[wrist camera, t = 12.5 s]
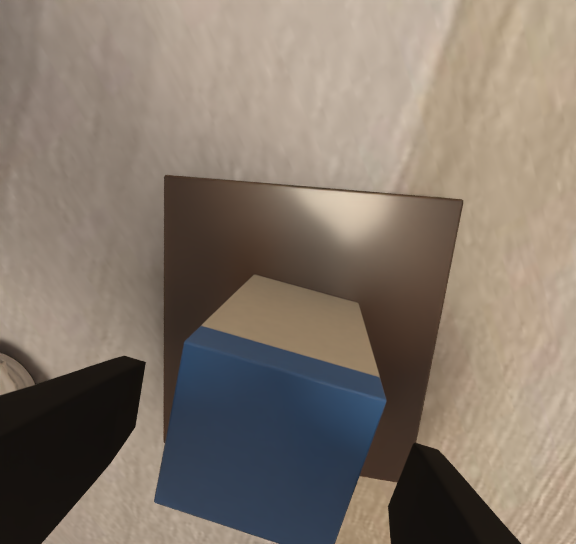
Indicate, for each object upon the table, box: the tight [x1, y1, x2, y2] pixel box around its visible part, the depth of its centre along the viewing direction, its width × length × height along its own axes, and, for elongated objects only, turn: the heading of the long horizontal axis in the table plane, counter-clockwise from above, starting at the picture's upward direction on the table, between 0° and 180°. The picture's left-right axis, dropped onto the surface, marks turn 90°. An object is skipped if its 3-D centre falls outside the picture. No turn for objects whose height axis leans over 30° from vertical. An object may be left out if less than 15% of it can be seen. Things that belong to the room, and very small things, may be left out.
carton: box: [154, 275, 387, 544], centre depth 11 cm, size 5×5×7 cm
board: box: [164, 175, 463, 482], centre depth 15 cm, size 12×13×2 cm
